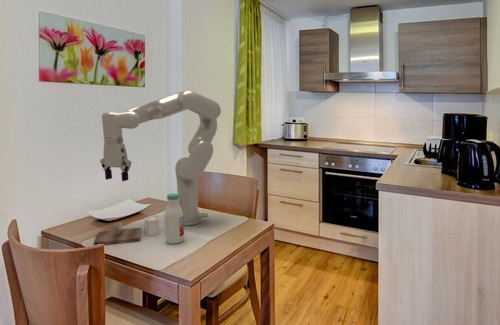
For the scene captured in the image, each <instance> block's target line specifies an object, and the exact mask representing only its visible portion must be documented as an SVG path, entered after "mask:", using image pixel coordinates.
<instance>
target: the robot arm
mask: <svg viewBox="0 0 500 325" xmlns="http://www.w3.org/2000/svg"><path fill="white" fill-rule="evenodd" d="M186 110H188V111H190V112H193V113H195V114H197V115H198V117H199V124H198V125H199V126H198V128H197V131H196V132H195V134H194V135H193V137H192V138H191V140H190V142H189V144H188V146H187V151H188V153H189V156H187V157H186V156H185V157H181V158H179V159H178V160H177V162H176V164H175V167H174V168H175V169H174V170H175V171H174V172H175V179H176V188H177V191H176V192H177V193H176V194H178V195H179V200H178V202H179V205H180V207H181V209H182V212H183V223H184V226H195V225H198V224H200V223H202V218H208V214H209V213H208V212H200V211H199V204H198V199H199V198H198V179H199V178H200V177H201V176H202V175H203V173H204V171H205V170H206V168H207V166H208V165H209V162H211V158H212V157H213V154H214V146H213V144H212V141H213V140H214V137H215V136H216V133H217V129H218V121H217V119H218V118H219V117H220V115H221V113H222V108H221V106H220V104H219V103H218V102H217V101H215V100H213V99H210V98H208V97H207V96H204V95H202V94H200V93H198V92H195V91H193V90H183V91H179V92H176V93H173V94H171V95H170V94H169V95H167V96H164V97H161V98H158V99H156V100H153V101H151V102H148V103H146V104H142V105H140V106H137V107H134V108H130V109H129V110H126V111H123V112H122V111H121V112H118V111H111V112H110V111H109V112H103V113H102V114H101V121H102V131H103V132H102V133H103V152H102V153H103V158H102V159H100V162H99V163H100V165H101V167H102V169H103V171H104V177H105V180H111V179H112V178H113V172H112V169H111V168H116V169H117V168H120V170H121V182H126V181H129V170H130V169H131V166H132V161H131V160H129V158H128V152H127V148H126V146H125V143H124V138H123V129H129V130H131V129H136V128H137V127H138V126H140V124H143V123H146V122H150V121H153V120H161V119H164V118H167V117H170V116H173V115H176V114H178V113H182V112H184V111H186Z"/></svg>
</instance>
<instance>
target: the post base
mask: <svg viewBox="0 0 500 325" xmlns="http://www.w3.org/2000/svg"><path fill="white" fill-rule="evenodd" d="M122 225H123V224H122V222H121V221H120V222H118V221H117V222H115V223H113V227H114V228H113V229H114V230H111V229H110V230H102V231H101V230H99V231H97V234H96V236H95V239H94V241H93V246H94V245H98V244H105V245H104V246H108V245H109V244H110V245H117V244H119V245H120V244H128V243H135V242H136V243H137V242H138V241H139V242H141V240H142V239H141V237H142V227H134V228H123V226H122Z"/></svg>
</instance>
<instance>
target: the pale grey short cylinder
mask: <svg viewBox="0 0 500 325" xmlns="http://www.w3.org/2000/svg"><path fill="white" fill-rule="evenodd" d="M160 227H161V226H160V216H158V215H149V216H146V217H144V235H145V236H148V235H149V236H150V237H151V235H153V236H157V235H160V233H161V230H160ZM149 236H148V237H149Z"/></svg>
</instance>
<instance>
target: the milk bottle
mask: <svg viewBox="0 0 500 325" xmlns="http://www.w3.org/2000/svg"><path fill="white" fill-rule="evenodd" d="M166 196H167V197H166V199H167V202H168V203H167V205H166V207H165V210H164V214H163V215H164V238H165V239H164V240H165V243H167V244H171V245H172V244H173V245H174V244H180V243H182V242H184V240H185V230H184V229H185V228H184V223H183V212H182V209H181V207H180V205H179V202H178V200H179V195H178V194H177V193H169V194H167V195H166Z"/></svg>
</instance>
